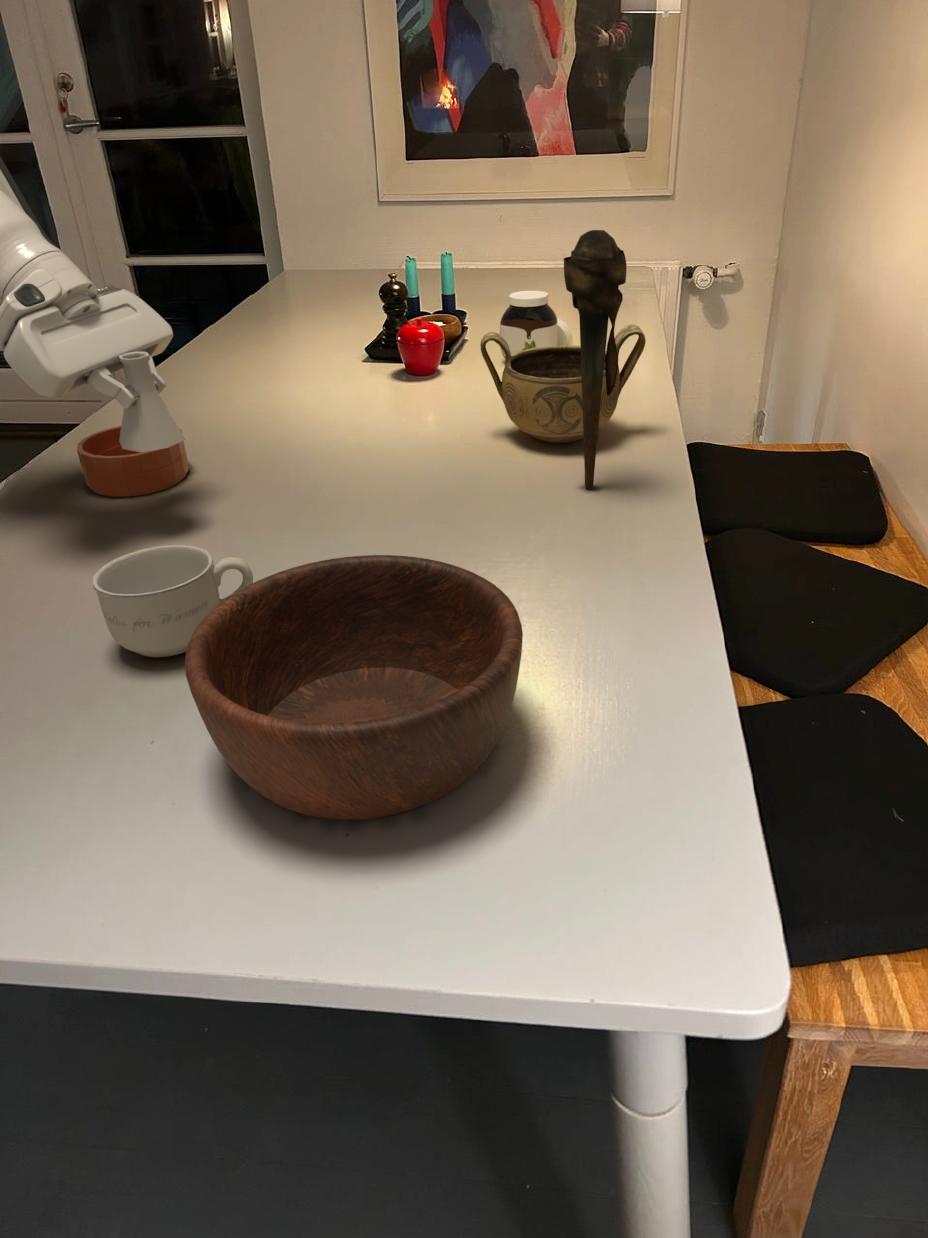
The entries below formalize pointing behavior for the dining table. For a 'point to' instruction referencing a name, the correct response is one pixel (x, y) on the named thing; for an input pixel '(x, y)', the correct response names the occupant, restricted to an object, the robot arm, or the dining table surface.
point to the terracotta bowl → (129, 465)
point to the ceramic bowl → (554, 386)
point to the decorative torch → (595, 325)
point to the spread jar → (532, 323)
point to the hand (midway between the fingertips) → (147, 397)
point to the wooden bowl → (357, 682)
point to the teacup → (162, 596)
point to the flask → (145, 410)
